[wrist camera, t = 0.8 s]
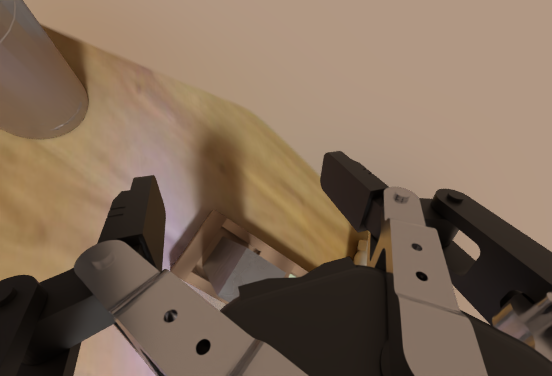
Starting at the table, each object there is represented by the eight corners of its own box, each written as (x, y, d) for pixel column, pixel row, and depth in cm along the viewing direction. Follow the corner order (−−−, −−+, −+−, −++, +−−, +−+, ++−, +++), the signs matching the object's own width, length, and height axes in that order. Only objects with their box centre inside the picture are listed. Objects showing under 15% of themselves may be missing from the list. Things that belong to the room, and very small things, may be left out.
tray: (170, 269, 30) (170, 273, 28) (212, 209, 33) (214, 209, 31) (303, 344, 36) (309, 350, 34) (330, 288, 39) (337, 291, 37)
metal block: (202, 266, 31) (217, 296, 20) (222, 236, 32) (247, 247, 21) (231, 283, 32) (260, 320, 21) (249, 253, 33) (286, 272, 22)
